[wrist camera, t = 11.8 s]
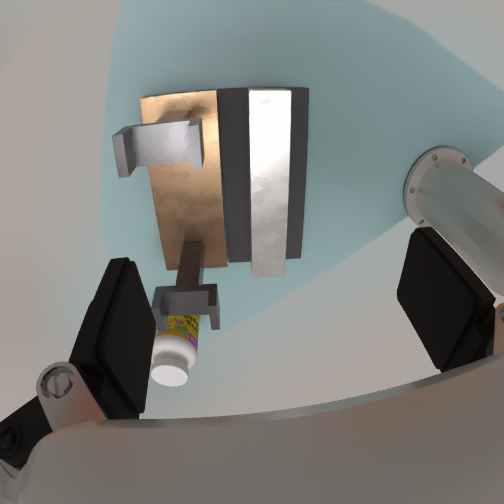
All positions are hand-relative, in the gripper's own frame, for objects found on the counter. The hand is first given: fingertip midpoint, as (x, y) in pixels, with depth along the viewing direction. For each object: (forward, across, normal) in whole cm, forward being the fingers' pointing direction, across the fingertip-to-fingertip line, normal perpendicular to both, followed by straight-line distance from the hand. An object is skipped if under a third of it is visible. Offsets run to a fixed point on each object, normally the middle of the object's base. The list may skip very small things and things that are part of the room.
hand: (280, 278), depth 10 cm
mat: (+27, -2, +7) cm, 28 cm away
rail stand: (+27, +6, +7) cm, 29 cm away
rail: (+26, -2, +7) cm, 28 cm away
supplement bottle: (+27, +11, +26) cm, 39 cm away
